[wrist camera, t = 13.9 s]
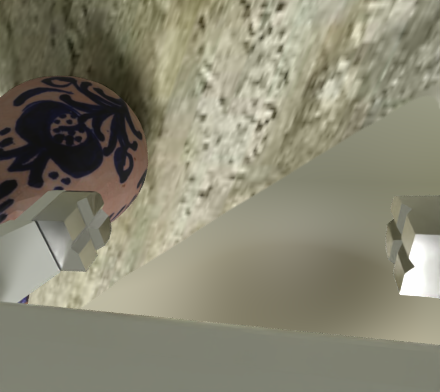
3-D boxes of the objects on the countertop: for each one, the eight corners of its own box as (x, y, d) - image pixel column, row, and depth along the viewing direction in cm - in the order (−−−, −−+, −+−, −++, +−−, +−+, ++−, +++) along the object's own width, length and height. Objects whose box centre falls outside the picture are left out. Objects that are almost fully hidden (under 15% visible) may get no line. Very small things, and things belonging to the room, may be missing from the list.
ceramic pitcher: (189, 120, 42) (86, 262, 22) (122, 219, 54) (13, 371, 33) (64, 29, 39) (-196, 94, 18) (21, 154, 50) (-168, 280, 30)
